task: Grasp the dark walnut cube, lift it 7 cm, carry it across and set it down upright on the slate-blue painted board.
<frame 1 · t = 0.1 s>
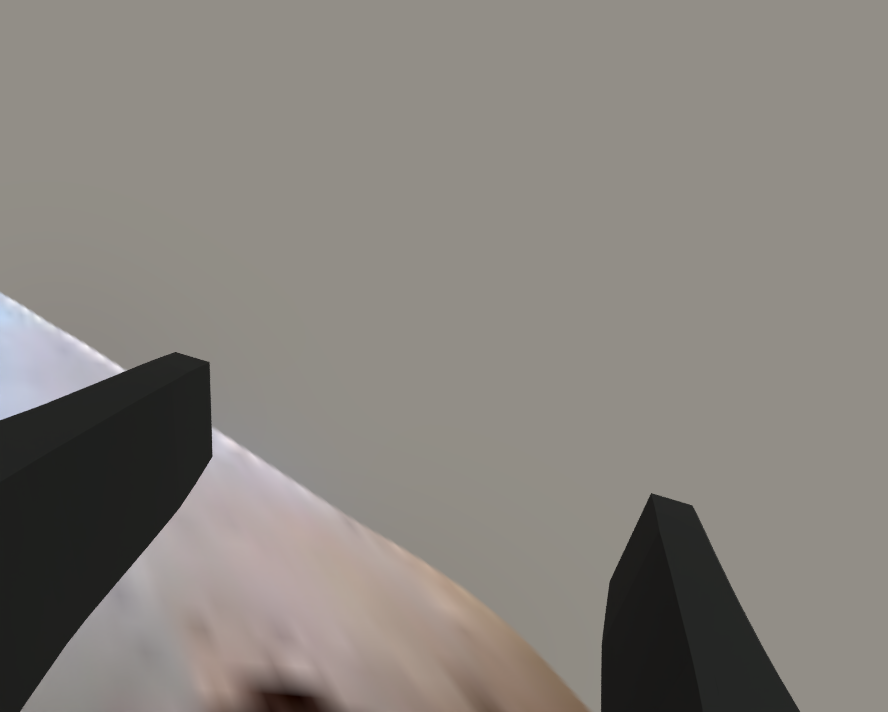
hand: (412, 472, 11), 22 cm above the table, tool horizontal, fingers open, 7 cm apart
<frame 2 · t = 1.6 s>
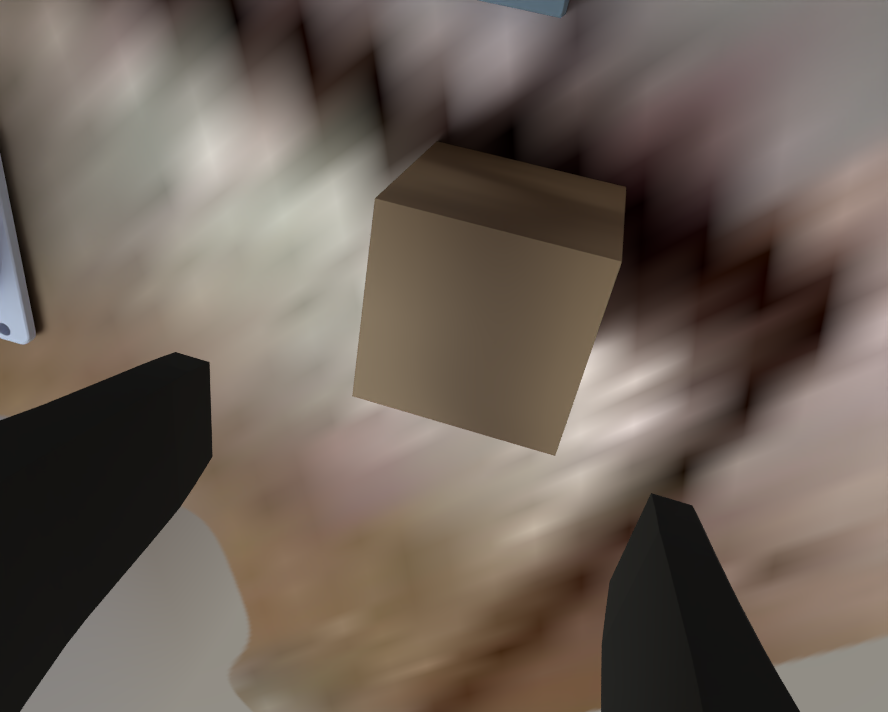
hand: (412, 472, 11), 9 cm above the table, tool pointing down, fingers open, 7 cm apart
walnut cube: (509, 251, 19), on the table
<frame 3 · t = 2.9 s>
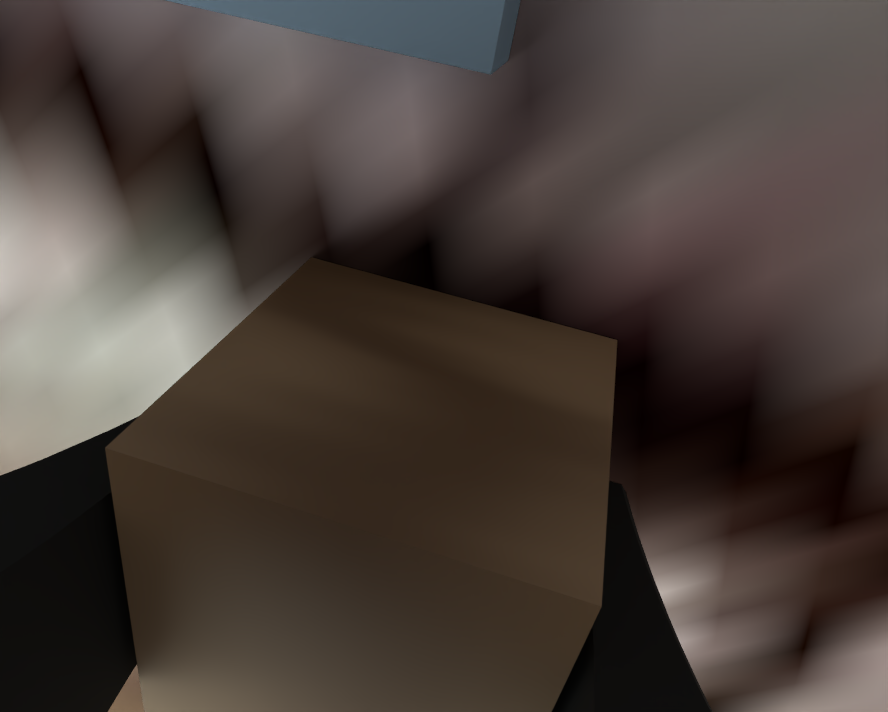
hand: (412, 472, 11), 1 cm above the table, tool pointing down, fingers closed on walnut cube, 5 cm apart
walnut cube: (434, 420, 12), on the table, touching gripper
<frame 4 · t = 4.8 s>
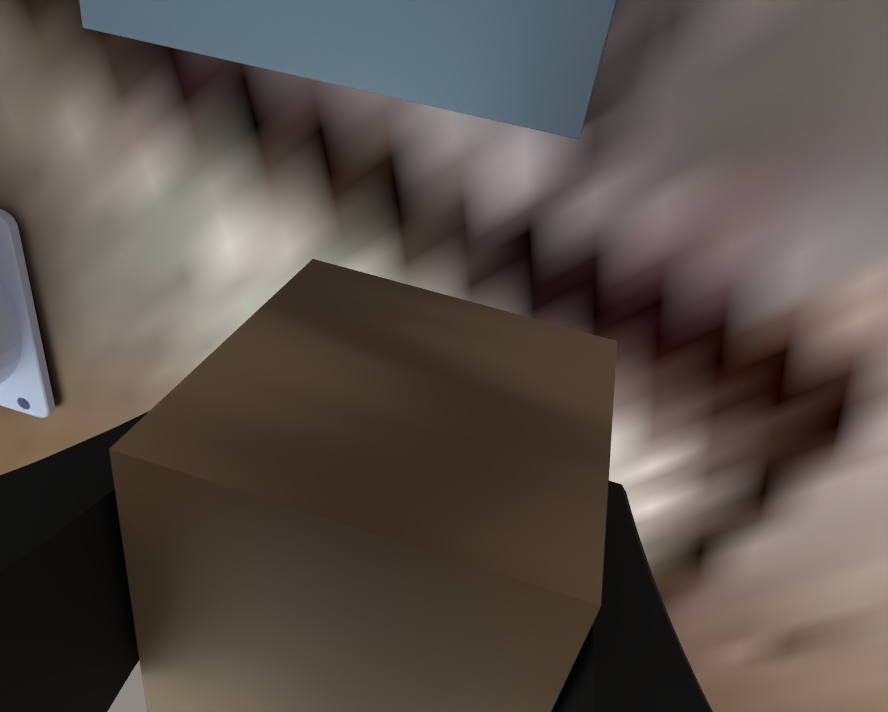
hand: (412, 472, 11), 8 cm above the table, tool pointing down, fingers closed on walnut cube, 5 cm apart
walnut cube: (435, 421, 12), point 7 cm above the table, touching gripper
when the fingers open (4 cm above the table, at t = 6.8 s): walnut cube drops 1 cm, resting on slate board.
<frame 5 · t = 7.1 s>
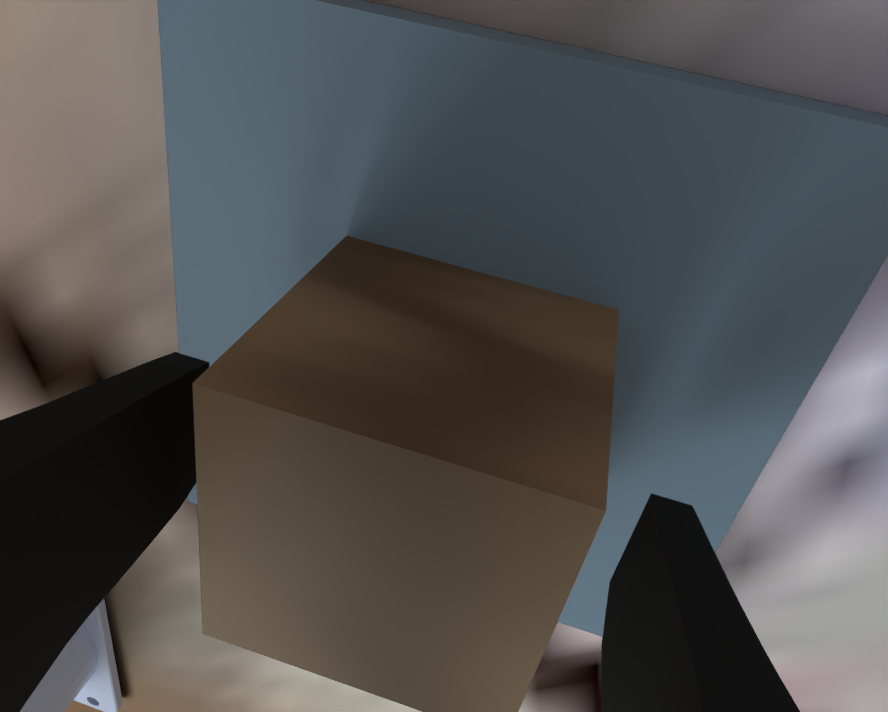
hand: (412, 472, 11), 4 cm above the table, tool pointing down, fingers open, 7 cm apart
slate board: (467, 346, 14), on the table
walnut cube: (453, 384, 13), point 1 cm above the table, touching slate board
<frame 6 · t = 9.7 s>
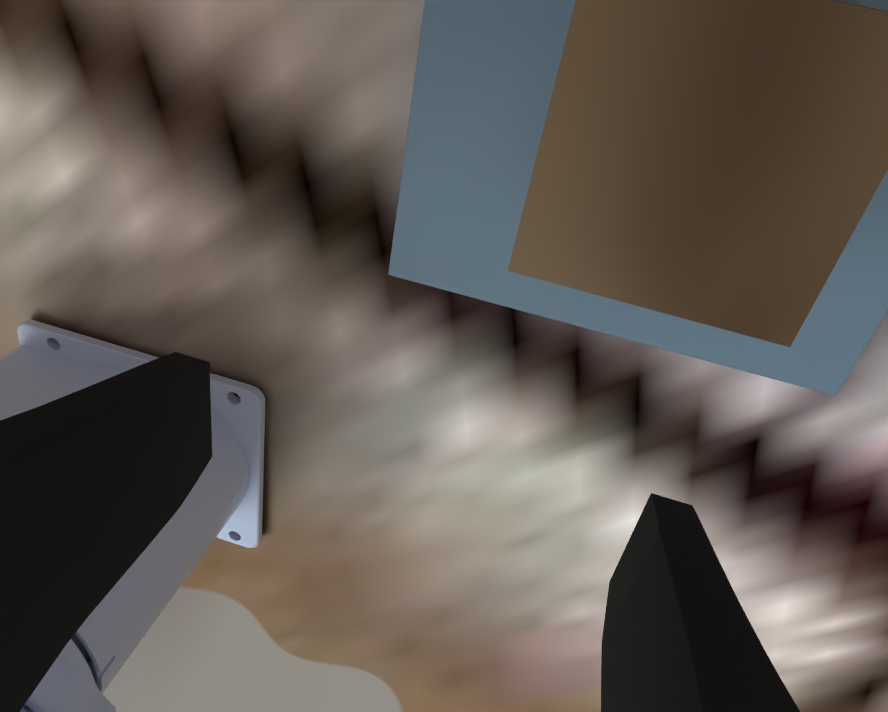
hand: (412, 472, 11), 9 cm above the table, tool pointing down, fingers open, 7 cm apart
slate board: (682, 88, 15), on the table
walnut cube: (682, 107, 14), point 1 cm above the table, touching slate board
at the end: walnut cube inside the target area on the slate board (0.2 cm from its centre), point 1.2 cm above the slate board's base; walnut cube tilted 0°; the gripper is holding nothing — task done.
